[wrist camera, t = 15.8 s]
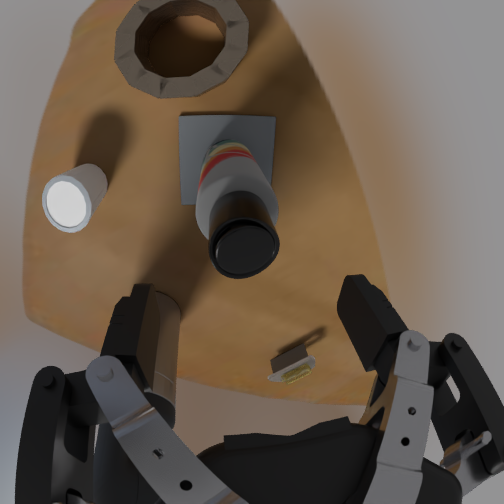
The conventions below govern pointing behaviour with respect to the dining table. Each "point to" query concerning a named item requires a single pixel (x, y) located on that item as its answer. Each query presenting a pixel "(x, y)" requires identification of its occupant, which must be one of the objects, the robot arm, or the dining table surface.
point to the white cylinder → (74, 197)
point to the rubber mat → (213, 130)
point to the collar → (160, 12)
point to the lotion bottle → (236, 211)
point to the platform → (291, 365)
